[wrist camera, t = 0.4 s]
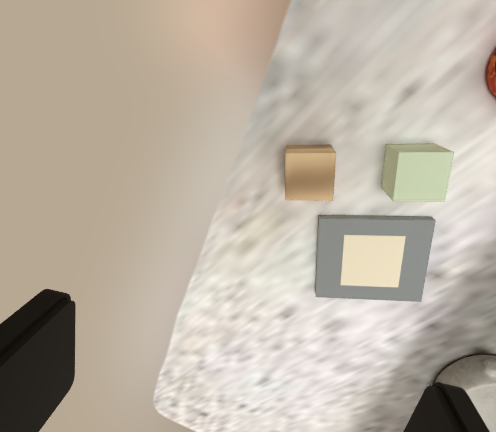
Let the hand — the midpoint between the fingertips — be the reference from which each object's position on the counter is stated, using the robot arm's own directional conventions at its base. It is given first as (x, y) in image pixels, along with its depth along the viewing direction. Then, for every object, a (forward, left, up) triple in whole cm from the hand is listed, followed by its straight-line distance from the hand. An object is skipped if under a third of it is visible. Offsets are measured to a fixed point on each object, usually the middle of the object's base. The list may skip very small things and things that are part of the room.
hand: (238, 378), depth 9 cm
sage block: (+2, +14, -33) cm, 36 cm away
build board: (+13, +11, -33) cm, 37 cm away
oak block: (+2, +3, -33) cm, 33 cm away
